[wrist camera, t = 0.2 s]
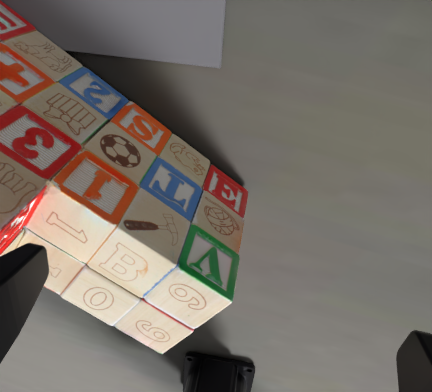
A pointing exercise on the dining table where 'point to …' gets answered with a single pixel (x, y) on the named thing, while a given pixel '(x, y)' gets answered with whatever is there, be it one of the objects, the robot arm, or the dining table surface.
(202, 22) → the grey flat board
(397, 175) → the dining table surface
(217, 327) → the dining table surface
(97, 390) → the dining table surface
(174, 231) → the stack of blocks
